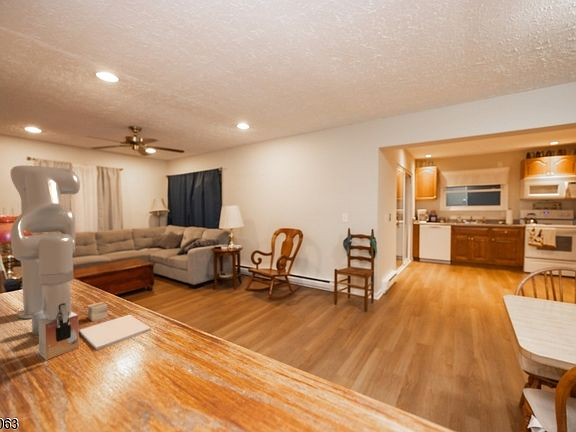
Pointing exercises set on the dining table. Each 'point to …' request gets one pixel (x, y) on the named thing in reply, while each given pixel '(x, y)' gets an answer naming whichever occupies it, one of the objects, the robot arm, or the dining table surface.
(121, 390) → the dining table surface
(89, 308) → the birch block
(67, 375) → the dining table surface
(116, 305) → the dining table surface
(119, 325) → the mat
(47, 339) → the small box
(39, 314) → the light grey domed piece
